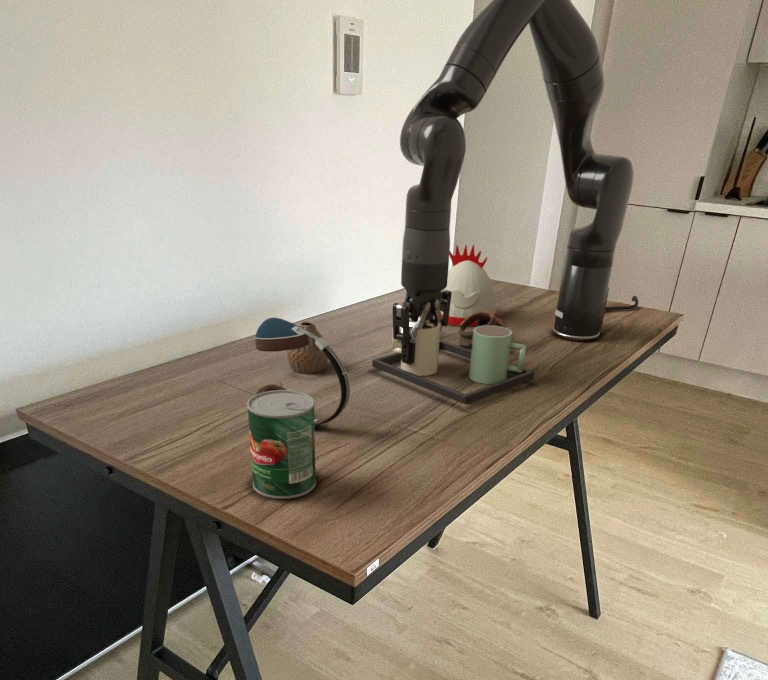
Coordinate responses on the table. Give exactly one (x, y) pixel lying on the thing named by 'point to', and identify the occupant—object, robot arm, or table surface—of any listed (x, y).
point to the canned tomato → (282, 443)
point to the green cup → (493, 354)
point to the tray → (385, 366)
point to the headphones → (290, 336)
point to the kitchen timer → (468, 287)
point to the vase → (308, 354)
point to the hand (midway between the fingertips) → (419, 357)
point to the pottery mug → (482, 320)
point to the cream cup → (423, 349)
